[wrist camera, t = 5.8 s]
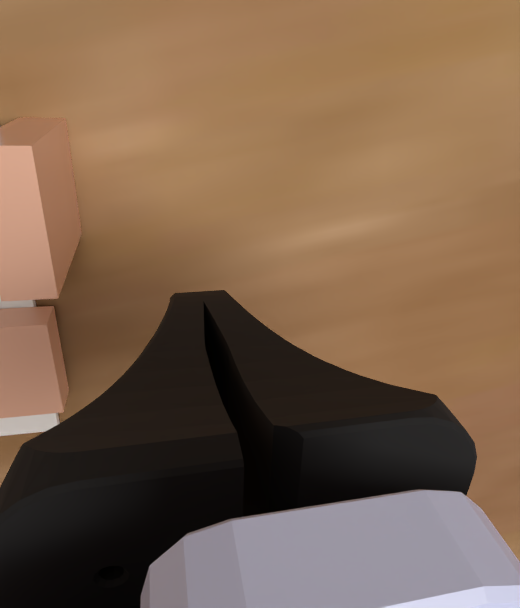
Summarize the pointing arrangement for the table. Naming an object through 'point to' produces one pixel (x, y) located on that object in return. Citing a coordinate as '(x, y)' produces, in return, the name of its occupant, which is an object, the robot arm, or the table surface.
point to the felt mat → (34, 421)
